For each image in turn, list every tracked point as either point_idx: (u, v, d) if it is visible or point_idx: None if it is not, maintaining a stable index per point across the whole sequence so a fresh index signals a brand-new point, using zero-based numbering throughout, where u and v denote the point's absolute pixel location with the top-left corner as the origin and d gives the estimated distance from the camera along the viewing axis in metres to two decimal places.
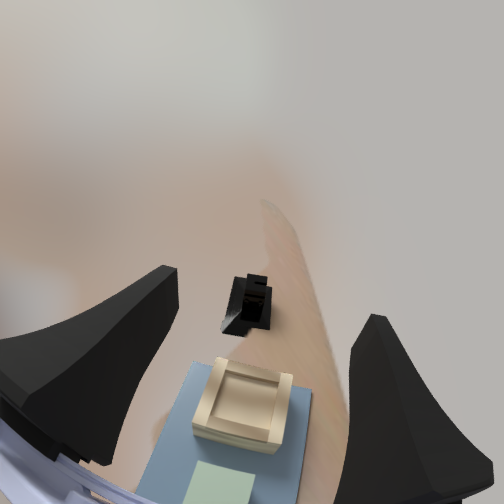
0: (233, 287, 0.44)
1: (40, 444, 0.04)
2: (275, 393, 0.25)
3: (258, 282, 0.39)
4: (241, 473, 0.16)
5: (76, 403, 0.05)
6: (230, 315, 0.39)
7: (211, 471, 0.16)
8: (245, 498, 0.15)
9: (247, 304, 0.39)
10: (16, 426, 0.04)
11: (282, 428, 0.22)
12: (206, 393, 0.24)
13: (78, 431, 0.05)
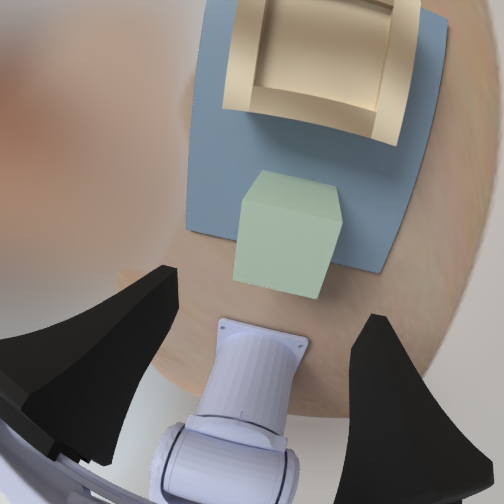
0: None
1: (40, 444, 0.04)
2: (386, 26, 0.08)
3: None
4: (318, 220, 0.12)
5: (76, 403, 0.05)
6: None
7: (267, 218, 0.13)
8: (323, 263, 0.13)
9: None
10: (16, 426, 0.04)
11: (400, 111, 0.10)
12: (238, 40, 0.10)
13: (78, 431, 0.05)
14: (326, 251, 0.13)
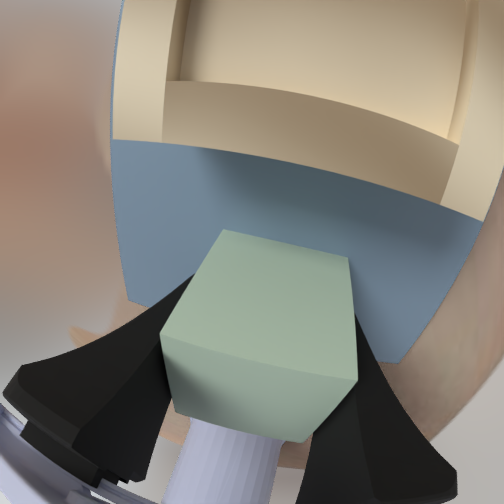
0: None
1: (40, 444, 0.04)
2: None
3: None
4: (310, 377, 0.06)
5: (121, 427, 0.05)
6: None
7: (211, 365, 0.06)
8: (315, 418, 0.07)
9: None
10: (51, 454, 0.04)
11: (502, 147, 0.03)
12: None
13: (121, 454, 0.05)
14: (321, 408, 0.06)
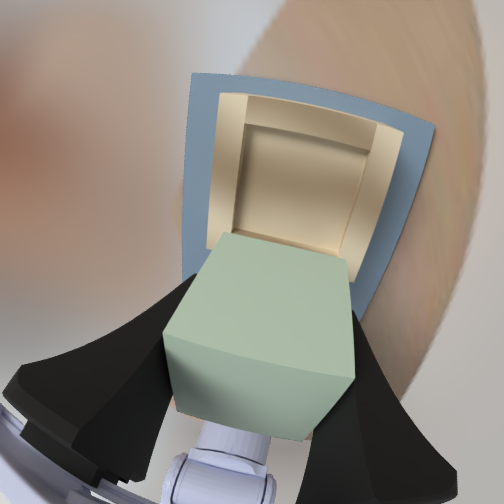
0: None
1: (40, 444, 0.04)
2: (360, 169, 0.12)
3: None
4: (309, 375, 0.06)
5: (121, 427, 0.05)
6: None
7: (212, 364, 0.06)
8: (314, 416, 0.07)
9: None
10: (50, 453, 0.04)
11: (360, 256, 0.13)
12: (216, 190, 0.13)
13: (121, 454, 0.05)
14: (320, 406, 0.07)
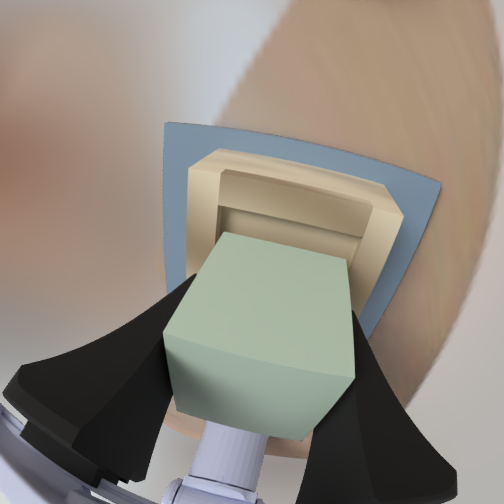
0: None
1: (40, 444, 0.04)
2: (350, 252, 0.11)
3: None
4: (309, 374, 0.06)
5: (121, 427, 0.05)
6: None
7: (212, 363, 0.06)
8: (314, 416, 0.07)
9: None
10: (51, 454, 0.04)
11: None
12: (193, 270, 0.12)
13: (121, 454, 0.05)
14: (320, 406, 0.07)
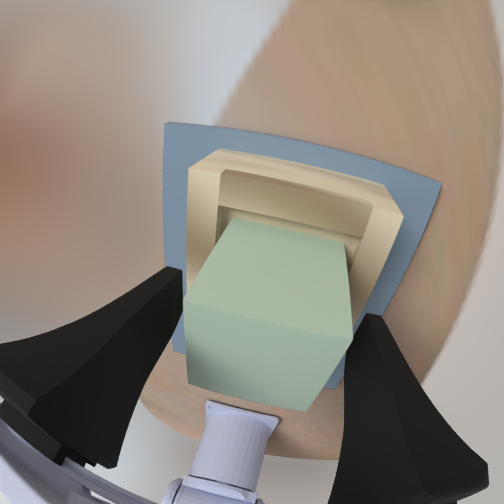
0: None
1: (40, 444, 0.04)
2: (350, 252, 0.11)
3: None
4: (312, 336, 0.07)
5: (83, 407, 0.05)
6: None
7: (226, 328, 0.07)
8: (316, 382, 0.08)
9: None
10: (21, 430, 0.04)
11: None
12: (193, 270, 0.12)
13: (84, 435, 0.05)
14: (322, 370, 0.08)
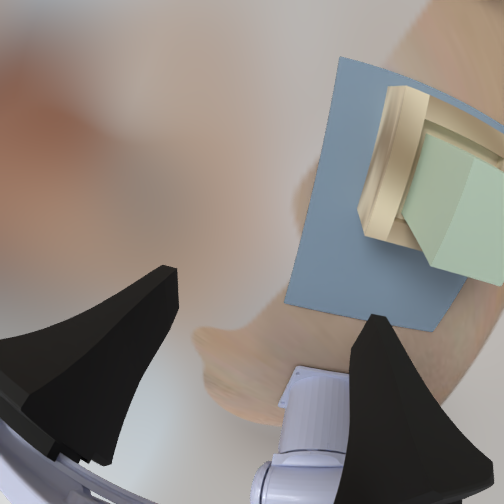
0: None
1: (40, 444, 0.04)
2: None
3: None
4: None
5: (76, 403, 0.05)
6: None
7: (492, 185, 0.07)
8: None
9: None
10: (16, 426, 0.04)
11: None
12: (390, 177, 0.12)
13: (78, 431, 0.05)
14: None
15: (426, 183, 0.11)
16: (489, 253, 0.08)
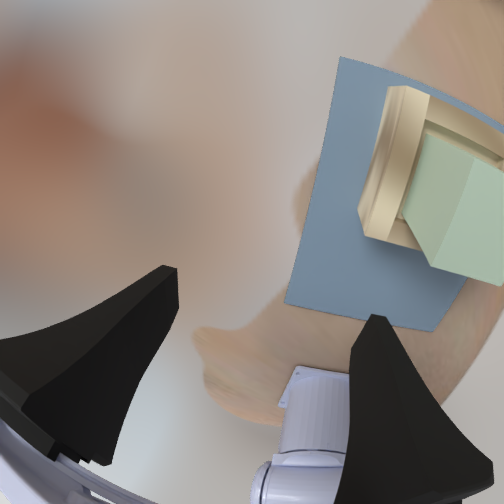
0: None
1: (40, 444, 0.04)
2: None
3: None
4: None
5: (76, 403, 0.05)
6: None
7: (492, 185, 0.07)
8: None
9: None
10: (16, 426, 0.04)
11: None
12: (390, 177, 0.12)
13: (78, 431, 0.05)
14: None
15: (426, 183, 0.11)
16: (489, 253, 0.08)
